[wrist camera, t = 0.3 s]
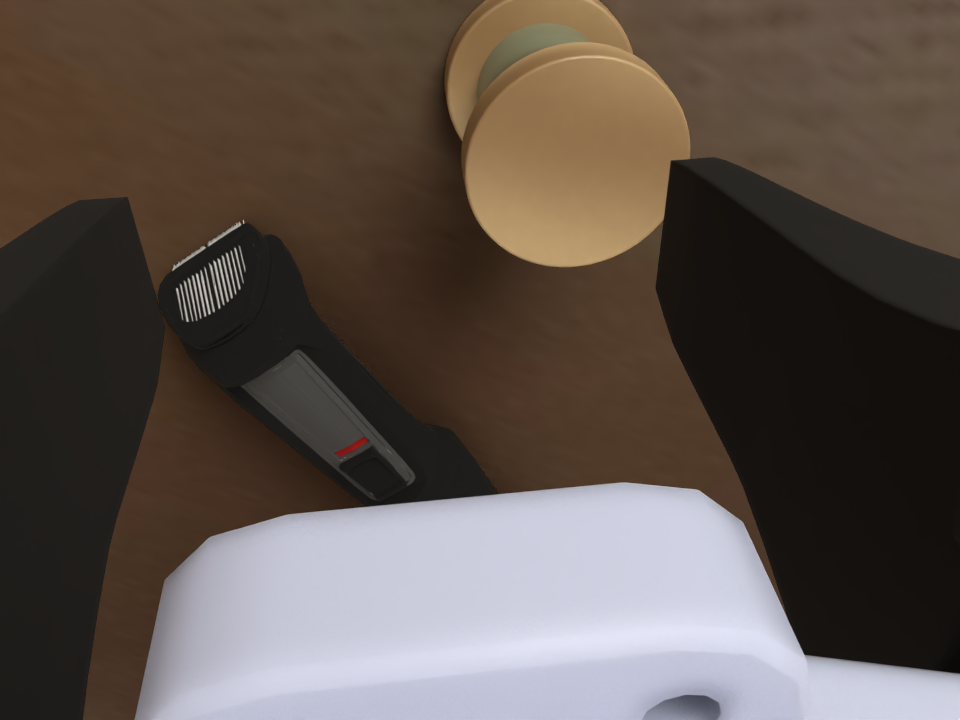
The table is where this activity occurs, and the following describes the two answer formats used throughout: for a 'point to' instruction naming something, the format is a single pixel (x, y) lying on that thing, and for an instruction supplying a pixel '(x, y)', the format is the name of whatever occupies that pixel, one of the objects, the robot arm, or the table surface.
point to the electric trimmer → (306, 375)
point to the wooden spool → (560, 130)
